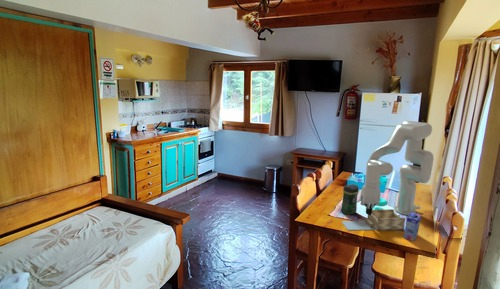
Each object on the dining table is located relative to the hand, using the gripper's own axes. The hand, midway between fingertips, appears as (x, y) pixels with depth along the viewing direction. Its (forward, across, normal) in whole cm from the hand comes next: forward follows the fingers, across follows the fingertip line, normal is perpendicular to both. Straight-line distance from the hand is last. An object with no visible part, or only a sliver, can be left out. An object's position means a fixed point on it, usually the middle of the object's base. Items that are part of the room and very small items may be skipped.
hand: (368, 214), depth 174 cm
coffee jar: (+8, +3, -19) cm, 21 cm away
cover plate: (+8, +6, 0) cm, 10 cm away
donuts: (+8, -15, -16) cm, 23 cm away
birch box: (+8, -11, 0) cm, 13 cm away
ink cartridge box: (+8, -19, +13) cm, 24 cm away
